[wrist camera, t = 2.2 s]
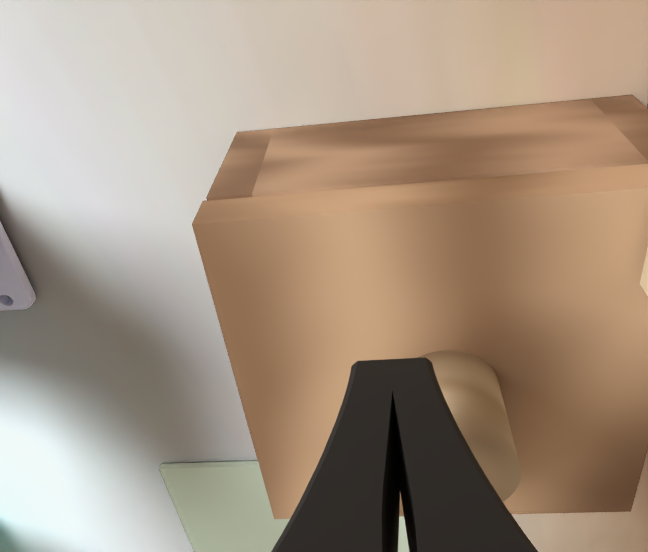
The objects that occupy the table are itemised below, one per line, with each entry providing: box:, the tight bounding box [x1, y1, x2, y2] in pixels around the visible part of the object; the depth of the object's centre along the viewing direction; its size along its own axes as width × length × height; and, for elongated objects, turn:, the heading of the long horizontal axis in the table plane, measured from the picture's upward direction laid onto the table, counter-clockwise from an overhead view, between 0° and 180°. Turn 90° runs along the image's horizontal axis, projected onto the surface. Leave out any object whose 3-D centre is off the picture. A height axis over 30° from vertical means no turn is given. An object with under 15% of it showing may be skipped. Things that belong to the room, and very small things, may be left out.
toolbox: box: [206, 95, 648, 201], centre depth 20 cm, size 12×12×4 cm
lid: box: [192, 164, 648, 519], centre depth 17 cm, size 12×12×4 cm
